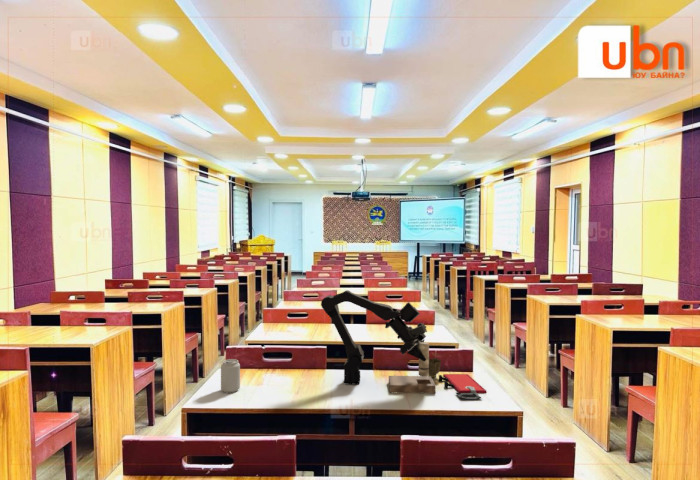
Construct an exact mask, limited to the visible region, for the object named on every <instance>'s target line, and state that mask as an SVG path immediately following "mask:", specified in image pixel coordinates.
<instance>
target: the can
mask: <svg viewBox="0 0 700 480" xmlns="http://www.w3.org/2000/svg"><path fill="white" fill-rule="evenodd" d="M240 388H241V364H240V363H239V360H238V359H234V358H229V359H224V360H223V361H222V364H221V365H220V390H221V391H222V393H227V394H231V392H232V393H235V391H236V392H238V390H240Z"/></svg>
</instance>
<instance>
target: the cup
mask: <svg viewBox="0 0 700 480" xmlns="http://www.w3.org/2000/svg"><path fill="white" fill-rule="evenodd" d="M441 361H442V360H441V359H439V358H437V357H432V358H431V359H430V357H429V375H428V376H431V378H432V379H435V378H437V375H438V374H439V373H440V370H441V363H442V362H441Z"/></svg>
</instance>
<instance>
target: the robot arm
mask: <svg viewBox="0 0 700 480" xmlns="http://www.w3.org/2000/svg"><path fill="white" fill-rule="evenodd" d="M344 302H348V303H352V304H353V305H356V306H358V307H360V308H363V309H366V310H368V311H370V312H371V313H373V314H374V315H376V316H377V317H378V318H380V319H381V320H383V321H385V322H384V323H385V326H384V328H385V329H388V328H391V329H392V331H394V333H395V334H396V335H397V336H396V337H397V339H398V340H399V339H400V340H401V341H402V342H403V343H404V344H403V345H401V347H399V351H400V353H401V354H402V355H405V354H407V355H411V356H412V357H414V358H416V359H418V360H419V359H420V360H422V361H426V358H425V357H424V355H423V354H422V352H421V351H420V349H419V343H421V342H425V339H426V337H427V335H426V334H425V333H427V332H428V330H427V326H426V324H425V323H422V322H420V323H418V324H417V325H416V327H412V326H409V325H407V324H406V323H411V322H412V321H414V320H415V319H416V318H417V317H418V316H419V315H420V311H419V310H418V309H417V308H416V307H415V306H414V305H412V304H411V303H410V302H407V303H406V304H405V305H404V306H403V307H401V308H400V309H398V308H394V307H393V306H391V305H390V304H386V303H380V302H375V301H372V300H370V299H369V298H366V297H363V296H361V295H358V294H356V293H354V292H352V291H350V290H347V289H346V290H344V291H343V292H339V293H337V294H335V295H327V296H325V297H324V298H323V299H321V302H320V306H321V308H322V310H323V311H324V312H325V314H326V315H327V316H328V317H329V318H330V319H331V321H332V323H333V325H334V327H335V330H336V331H337V332H338V335H339V337H340V339H341V341H342V343H343V345H344V347H345V351H346V357H347V359H346V360H345V362H344V363H343V369H344V370H343V385H360V382H361V370H360V365H361V364H362V363H363V359H364V357H365V355H364V353H365V351H364V350H363V348H362V346H361V343H359V344H356V343H355V342H354V340H353V338H352V335H351V334H350V331H349V329H348V328H347V325H346V324H345V322H344V320H343V317H342V316H341V313H340V308H339V304H341V303H344Z"/></svg>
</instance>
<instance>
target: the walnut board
mask: <svg viewBox="0 0 700 480" xmlns="http://www.w3.org/2000/svg"><path fill="white" fill-rule="evenodd" d="M388 386H389V387H388V388H389V391H390V393H391V392H393V393H394V392H397V394H398V393H399V394H436V384H435V382H434V380H433V378H431V376H420V375H388ZM393 393H392V394H393ZM394 394H395V393H394Z"/></svg>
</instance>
